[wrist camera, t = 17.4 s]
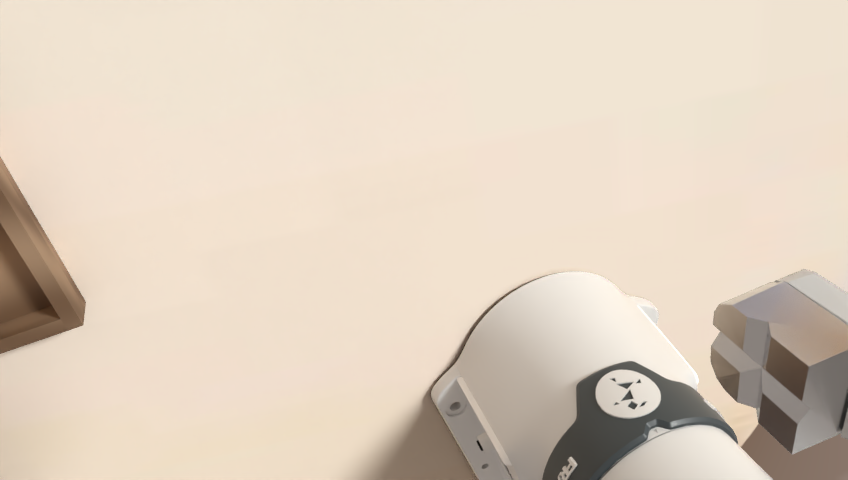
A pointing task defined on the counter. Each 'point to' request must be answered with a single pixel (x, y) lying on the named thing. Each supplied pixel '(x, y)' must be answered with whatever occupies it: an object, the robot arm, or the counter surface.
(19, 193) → the organiser
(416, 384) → the counter surface
